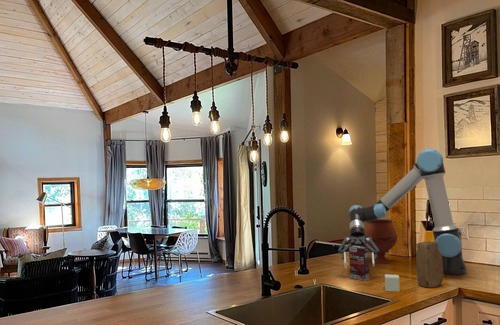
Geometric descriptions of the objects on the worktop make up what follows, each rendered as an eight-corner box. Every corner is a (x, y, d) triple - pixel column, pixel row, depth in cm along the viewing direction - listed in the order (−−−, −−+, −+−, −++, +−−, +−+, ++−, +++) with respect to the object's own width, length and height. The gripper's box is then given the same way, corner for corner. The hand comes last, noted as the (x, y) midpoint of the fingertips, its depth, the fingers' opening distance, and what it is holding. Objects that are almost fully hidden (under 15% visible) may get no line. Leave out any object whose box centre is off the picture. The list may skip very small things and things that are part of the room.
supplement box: (349, 278, 208) (348, 246, 208) (354, 276, 211) (353, 245, 212) (365, 281, 202) (364, 248, 203) (370, 279, 205) (368, 246, 206)
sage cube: (399, 288, 188) (398, 274, 188) (399, 291, 182) (399, 277, 182) (385, 287, 190) (384, 274, 190) (385, 290, 184) (384, 277, 184)
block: (426, 288, 185) (424, 244, 186) (415, 284, 192) (413, 241, 193) (446, 286, 188) (444, 242, 189) (434, 282, 196) (432, 240, 196)
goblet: (359, 259, 253) (357, 219, 254) (389, 258, 255) (387, 217, 256) (371, 266, 234) (369, 222, 235) (403, 264, 236) (402, 221, 237)
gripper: (381, 235, 220) (385, 269, 205) (333, 234, 225) (333, 268, 210) (381, 226, 215) (386, 260, 200) (333, 226, 220) (333, 260, 205)
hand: (359, 264), depth 205 cm, fingers open, 13 cm apart
